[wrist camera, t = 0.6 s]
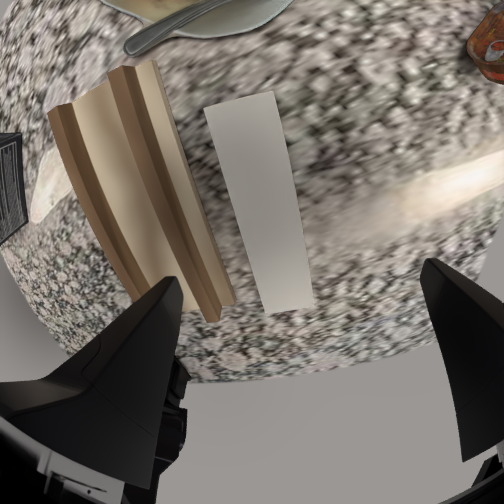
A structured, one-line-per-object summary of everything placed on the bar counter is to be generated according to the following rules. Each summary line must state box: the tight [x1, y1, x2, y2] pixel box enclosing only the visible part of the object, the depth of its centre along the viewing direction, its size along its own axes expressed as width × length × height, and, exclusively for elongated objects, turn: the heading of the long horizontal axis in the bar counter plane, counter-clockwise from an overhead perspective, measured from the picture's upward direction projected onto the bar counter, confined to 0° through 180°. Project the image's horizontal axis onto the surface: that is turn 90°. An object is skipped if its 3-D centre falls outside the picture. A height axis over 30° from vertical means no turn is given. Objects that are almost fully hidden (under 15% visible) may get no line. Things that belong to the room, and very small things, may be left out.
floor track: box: [47, 60, 236, 323], centre depth 20 cm, size 10×22×3 cm, turn 14°
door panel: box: [203, 91, 314, 314], centre depth 16 cm, size 3×12×8 cm, turn 14°
